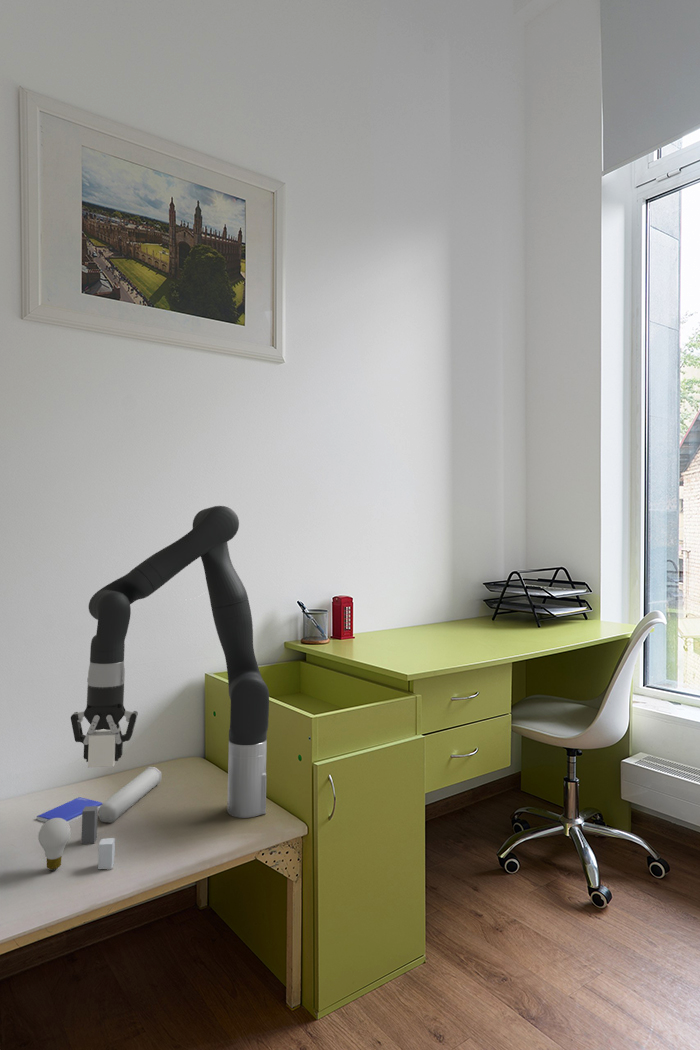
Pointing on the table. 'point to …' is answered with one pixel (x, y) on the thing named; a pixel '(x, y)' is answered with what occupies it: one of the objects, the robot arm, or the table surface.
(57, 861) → the light bulb
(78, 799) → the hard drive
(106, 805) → the tube
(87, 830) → the post
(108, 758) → the off-white rectangular block
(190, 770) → the table surface
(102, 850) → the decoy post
